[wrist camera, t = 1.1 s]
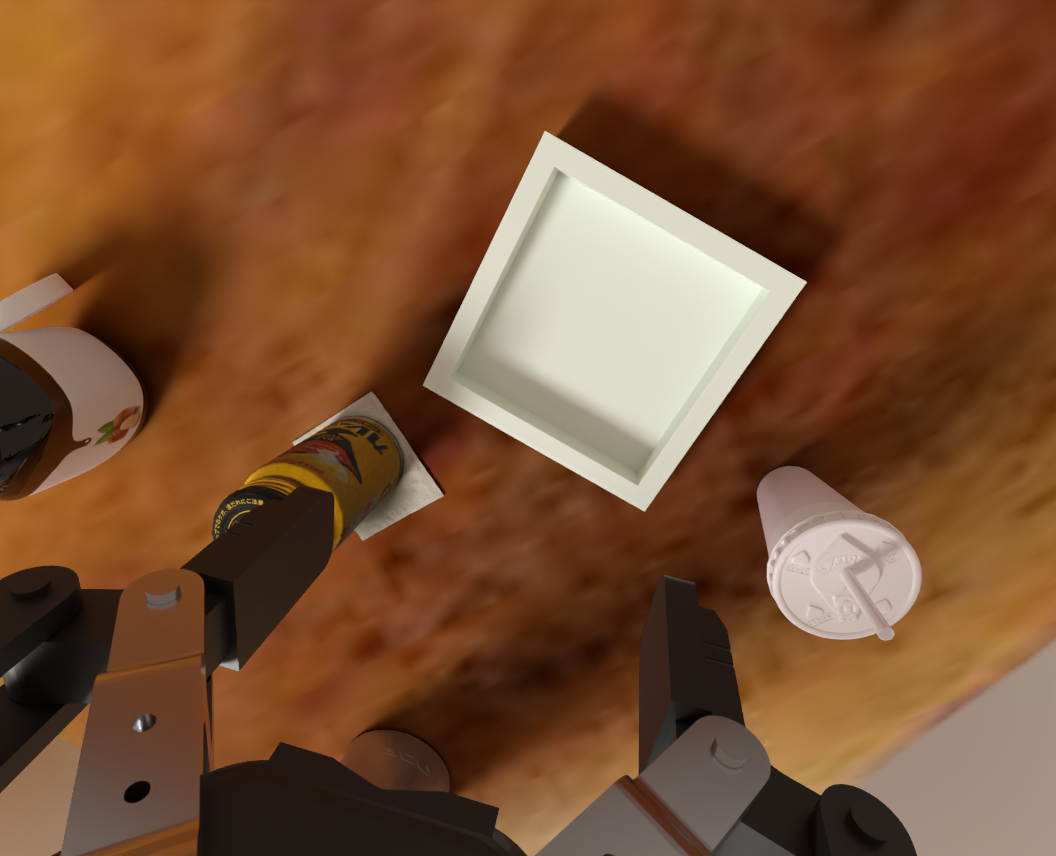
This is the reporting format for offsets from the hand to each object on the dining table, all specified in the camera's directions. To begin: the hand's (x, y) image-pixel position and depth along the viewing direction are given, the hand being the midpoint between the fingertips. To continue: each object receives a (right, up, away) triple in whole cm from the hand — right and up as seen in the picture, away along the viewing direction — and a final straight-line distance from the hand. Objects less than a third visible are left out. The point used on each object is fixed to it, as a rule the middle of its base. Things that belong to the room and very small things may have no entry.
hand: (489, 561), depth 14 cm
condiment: (-10, 0, +26) cm, 28 cm away
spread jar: (-30, +8, +27) cm, 41 cm away
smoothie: (+17, -1, +21) cm, 27 cm away
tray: (+5, +9, +20) cm, 23 cm away
